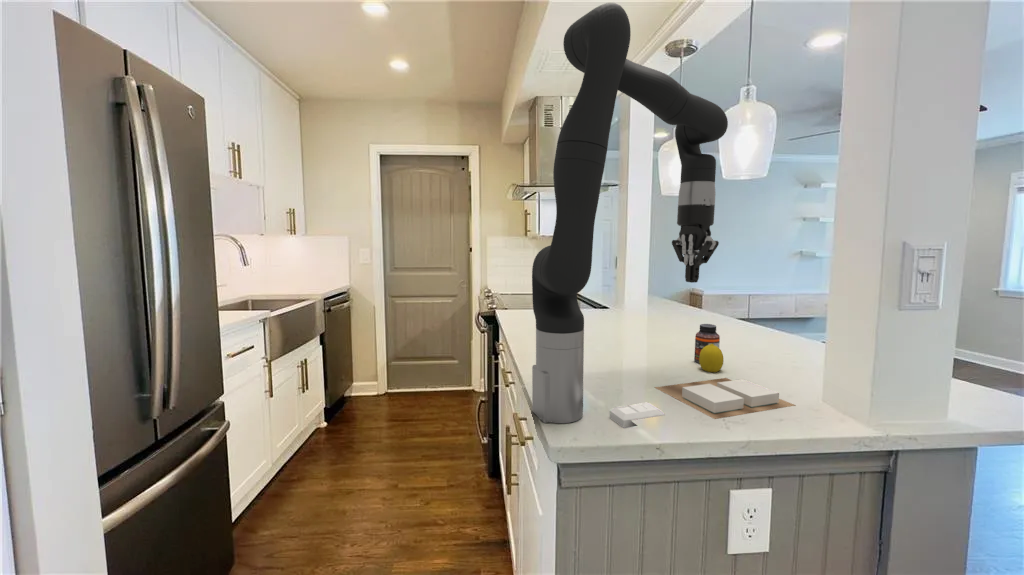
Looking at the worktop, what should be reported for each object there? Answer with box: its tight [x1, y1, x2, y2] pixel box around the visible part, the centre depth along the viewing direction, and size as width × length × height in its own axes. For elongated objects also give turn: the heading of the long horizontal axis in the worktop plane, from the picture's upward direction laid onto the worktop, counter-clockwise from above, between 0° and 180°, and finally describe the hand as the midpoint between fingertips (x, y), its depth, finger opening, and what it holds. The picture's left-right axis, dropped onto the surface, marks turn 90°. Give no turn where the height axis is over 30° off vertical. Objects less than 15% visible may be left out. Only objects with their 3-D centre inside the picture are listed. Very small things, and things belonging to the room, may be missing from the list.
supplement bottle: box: [693, 323, 721, 365], centre depth 117 cm, size 6×6×11 cm
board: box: [654, 377, 796, 420], centre depth 93 cm, size 20×18×1 cm
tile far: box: [717, 378, 780, 408], centre depth 91 cm, size 7×2×9 cm
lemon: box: [699, 344, 724, 373], centre depth 110 cm, size 6×6×8 cm
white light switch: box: [609, 401, 666, 429], centre depth 84 cm, size 5×9×3 cm, turn 108°
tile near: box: [682, 384, 744, 414], centre depth 88 cm, size 7×2×9 cm
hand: (691, 282), depth 99 cm, fingers closed
